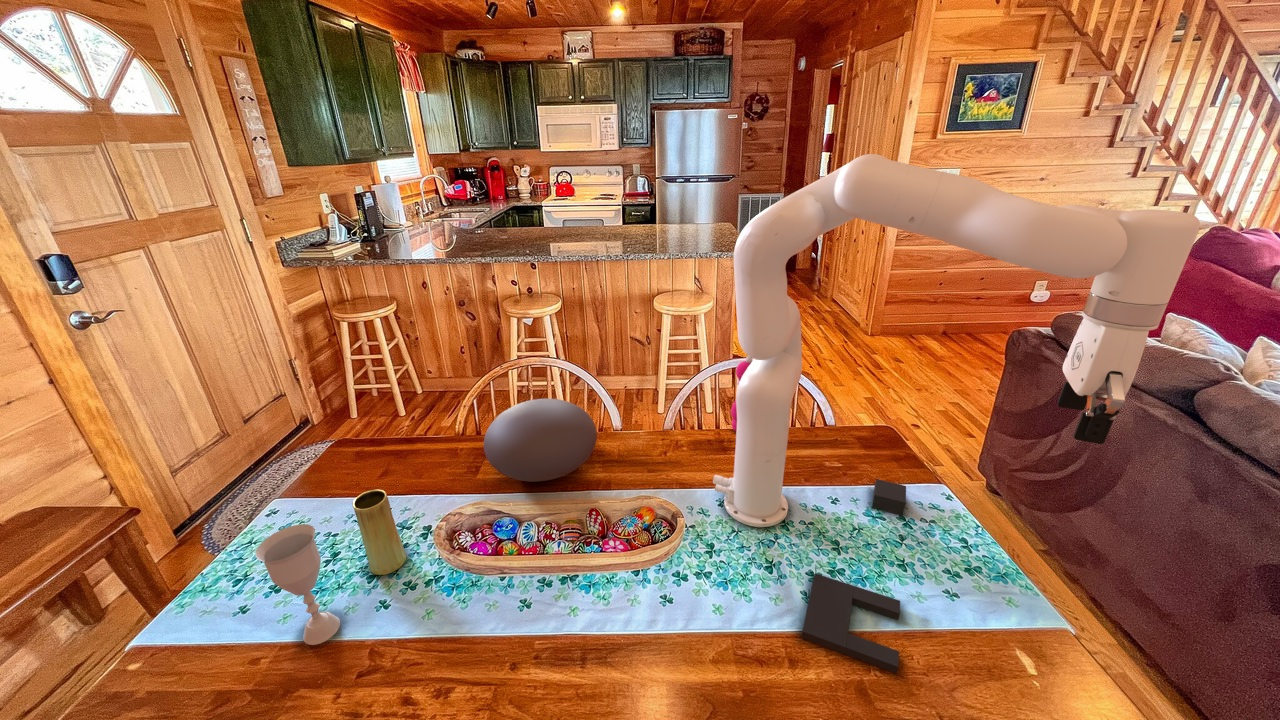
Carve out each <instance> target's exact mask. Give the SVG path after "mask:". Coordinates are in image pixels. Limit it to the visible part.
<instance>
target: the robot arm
mask: <svg viewBox="0 0 1280 720" xmlns="http://www.w3.org/2000/svg"><path fill="white" fill-rule="evenodd" d="M855 219H858V220H862V221H865V222H869V223H873V224H877V225H879V226H886V227H888V228H893V229H896V230H900V231H904V232H908V233H911V234H916V235H918V236H919V235H920V236H923V237H927V238H931V239H935V240H938V241H941V242H944V243H946V244H949V245H952V246H953V247H957V248H961V249H964V250H968V251H972V252H974V253H978V254H981V255H984V256H987V257H989V258H993V259H995V260H999V261H1002V262H1005V263H1009V264H1011V265H1015V266H1018V267H1022V268H1027V269H1030V270H1034V271H1038V272H1041V273H1046V274H1050V275H1054V276H1058V277H1063V278H1069V279H1087V278H1092V277H1094V279H1093V282H1092V284H1091V287H1090V291H1089V293H1088V295H1087V298H1086V301H1085V304H1084V307H1083V310H1082V312H1081V317H1082V320H1081V322H1080V324H1079V326H1078V328H1077V331H1076V333H1075V335H1074V337H1073V340H1072V343H1071V344H1070V347H1069V350H1068V352H1067V354H1066V357H1065V359H1064V362H1063V364H1062V372H1063V373H1062V374H1063V375H1064V377H1065V381H1064V383H1063V386H1062V389H1061V392H1060V394H1059V397H1058V400H1057V403H1056V404H1057V406H1058V408H1063V409H1068V410H1069V409H1070V410H1075V411H1082V412H1081V415H1080V418H1079V420H1078V423H1077V424H1076V427H1075V430H1074V433H1073V438H1074V440H1076V441H1081V442H1085V443H1092V444H1097V445H1103V444H1105V442H1106V440H1107V438H1108V435H1109V433H1110V430H1111V428H1112V426H1113V423H1114V421H1116V419H1117V416H1118V414H1120V411H1121V408H1122V407H1123V406H1124V404H1125V403H1126V396H1127V394H1128V392H1129V391H1130V388H1131V387H1132V384H1133V382H1134V379H1135V376H1136V374H1137V372H1138V368H1139V365H1140V364H1141V363H1140V362H1141V359H1142V356H1143V354H1144V350H1145V348H1146V344H1147V340H1148V336H1149V333H1150V331H1155V330H1157V329H1158V328H1159V326H1160V323H1161V321H1162V318H1163V316H1164V313H1165V311H1166V309H1167V306H1168V305H1169V301H1170V299H1171V297H1172V295H1173V293H1174V291H1175V287H1176V286H1177V284H1178V281H1179V278H1180V277H1181V273H1182V272H1183V270H1184V267H1185V265H1186V262H1187V259H1188V257H1189V255H1190V253H1191V250H1192V248H1193V245H1194V243H1195V241H1196V238H1197V236H1198V233H1199V231H1200V227H1201V223H1200V220H1199V218H1198V217H1197V216H1195V215H1194V214H1191V213H1188V212H1184V211H1177V210H1167V209H1133V210H1121V209H1110V208H1103V207H1097V206H1090V205H1083V204H1065V205H1060V206H1057V205H1054V204H1049V203H1045V202H1042V201H1037V200H1034V199H1029V198H1025V197H1022V196H1018V195H1015V194H1013V193H1009V192H1007V191H1003V190H1001V189H999V188H996V187H994V186H993V185H990V184H988V183H986V182H984V181H981V180H978V179H976V178H972V177H969V176H965V175H962V174H956V173H951V172H947V171H941V170H937V169H931V168H927V167H924V166H918V165H915V164H914V165H913V164H909V163H905V162H901V161H897V160H893V159H889V158H887V157H886V156H884V155H881V154H876V153H866V154H862V155H860V156H857V157H855V158H854V159H853V160H851V161H849V162H848V163H846V164H844V165H842V166H841V167H839V168H837V169H835V170H834V171H832V172H830V173H828V174H827V175H825V176H823V177H821V178H819V179H817V180H815V181H814V182H811V183H810V184H808V185H806V186H803V187H802V188H800V189H798V190H796V191H794V192H792V193H790V194H789V195H787V196H785V197H784V198H782V199H780V200H778V201H777V202H775V203H773V204H772V205H770V206H768V207H767V208H765V209H764V210H762V211H761V212H759V213H758V214H757V215H755V216H754V217H753V218H751V220H750V221H749V222H747V224H746V225H745V226H744V227H743V228H742V230H741V232H740V233H739V235H738V237H737V240H736V242H735V245H734V251H733V274H734V276H733V277H734V288H735V290H734V291H735V292H734V293H735V294H734V295H735V296H734V297H735V309H736V311H735V313H736V325H737V326H736V327H737V340H738V343H739V346H740V347H741V350H742V351H743V353H745V355H747V357H748V356H749V357H751V358H753V360H752V362H751V364H750V365H749V366H748V368H747V370H746V371H745V373H744V374H743V376H742V378H741V380H740V382H739V385H737V388H736V393H735V400H736V409H737V430H736V431H735V432H736V433H735V448H734V449H735V451H734V465H733V476H730V477H729V478H728V477H724V476H722V475H719V474H714V476H713V478H712V483H713V485H715V486H714V491H715V492H717V493H722V494H724V498H723V504H724V508H725V510H726V512H727V513H728V515H729V516H731V518H732V519H734V520H736V521H737V522H739V523H741V524H743V525H745V526H749V527H754V528H769V527H773V526H776V525H778V524H780V523H782V522H783V521H784V520H785V519H786V518H787V515H788V512H789V503H788V499H787V498H786V497H785V495H784V494H783V484H784V476H785V469H786V460H787V450H788V441H789V435H790V434H789V433H790V431H789V430H790V417H791V409H792V403H793V400H794V396H795V393H796V391H797V387H798V385H799V382H800V380H801V376H802V372H803V347H802V345H803V341H802V319H801V318H802V317H801V313H800V309H799V306H798V305H797V303H796V302H795V300H793V298H791V296H790V295H788V277H787V270H786V266H787V263H788V261H789V259H790V258H791V257H793V256H795V255H797V254H799V253H801V252H803V251H804V250H806V249H807V248H808V247H810V246H811V245H812V244H813V243H814V242H815V240H816V239H817V238H819V237H820V236H822V235H824V234H826V233H828V232H830V231H832V230H834V229H836V228H838V227H841V226H843V225H844V224H847V223H850V222H851V221H853V220H855ZM1101 392H1103V393H1101ZM1097 400H1098V401H1104V402H1103V403H1102V402H1101V403H1099V404H1098V405H1097V406H1096V403H1097ZM1085 408H1086V411H1085V412H1083V411H1084V410H1085Z"/></svg>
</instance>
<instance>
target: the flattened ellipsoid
mask: <svg viewBox="0 0 1280 720" xmlns="http://www.w3.org/2000/svg"><path fill="white" fill-rule="evenodd" d="M597 439H598V432H597V426H596V424H595V422H594V420H593V418H592V417H591V416H590V414H589V413H588V412H587V411H586V410H585V409H583V408H582V407H580V406H578V405H577V404H575V403H573V402H569V401H566V400H563V399H559V398H535V399H530V400H525V401H522V402H519V403H516V404H514V405H513V406H511V407H508V408H507V409H504V411H502V412H501V413H500V414H498V415H497V416H496V418H494V420H493V421H492V422H491V423H490V424H489V426H488V428H487V429H486V432H485V434H484V437H483V452H484V455H485V458H486V460H487V461H488V463H489V464H490V465H491V466H492V468H494V469H495V470H496V471H497V472H498V473H500V474H502V475H504V476H506V477H507V478H510V479H513V480H516V481H522V482H529V483H531V482H532V483H533V482H534V483H535V482H536V483H537V482H548V481H551V480H556V479H559V478H563V477H565V476H566V475H569V474H571V473H573V472H574V471H576V470H577V469H579V468H580V467H582V465H584V464H585V462H586V461H587V460H589V458H591V456H592V453H593V451H594V450H595V448H596V445H597Z"/></svg>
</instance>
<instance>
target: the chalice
mask: <svg viewBox="0 0 1280 720" xmlns="http://www.w3.org/2000/svg"><path fill="white" fill-rule="evenodd" d="M315 536H316V529H315V527H314V526H313V525H310V524H302V523H300V524H295V525H291V526H287V527H285V528H282V529H280V530H278V531H276V532H274V533H272V534H271V535H270V536H267V538H265V539H264V540H263V541H262V542H261V543H260V544H259V545H258V547H257V548H256V549H255V555H254V556H255V558H256V560H257V561H259V562H262V563H263V564H264V566H265V568H266V571H267V573H268V575H269V577H270V580H271V581H272V584H273V585H276V586H277V587H279V588H280V589H281V590H283V591H285V592H288V593H290V594H292V595H295V596H303V601H302V603H303V604H305V605H307V607H306V609H305V612H306V613H307V614H310V616H311V617H309V618H308V620H307V621H306V622H305V625H304V630H303V635H302V640H303V642H304V643H305V644H306V645H308V646H315V645H320V644H322V643H325V642H326V641H328V640H329V639H332V637H333V636H334V635H335V634H336V633H337V632H338V631H339V630H340V626H341V620H340V618H339V616H336V615H335V614H333V613H332V612H330V611H320V610H319V609H320V606H321V604H320V603H319V602H316V598H317V597H316V596H317V595H315V594H313V593H312V590H313V589H314V588H315V587H316V585H317V580H318V578H319V575H320V571H321V570H320V569H321V554H320V551H319V549H318V546H317V543H316V541H315Z"/></svg>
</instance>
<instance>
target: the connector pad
mask: <svg viewBox="0 0 1280 720" xmlns="http://www.w3.org/2000/svg"><path fill="white" fill-rule="evenodd" d="M873 486H874V487H873V492H872V502H871V508H873V509H876V510H879V511H885V512H888V513H892V514H895V515H898V516H904V511H905V509H906V508H905V507H906V504H907V485H904V484H898V483H896V482H891V481H887V480H883V479H879V478H876V479H875V482H874V485H873Z"/></svg>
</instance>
